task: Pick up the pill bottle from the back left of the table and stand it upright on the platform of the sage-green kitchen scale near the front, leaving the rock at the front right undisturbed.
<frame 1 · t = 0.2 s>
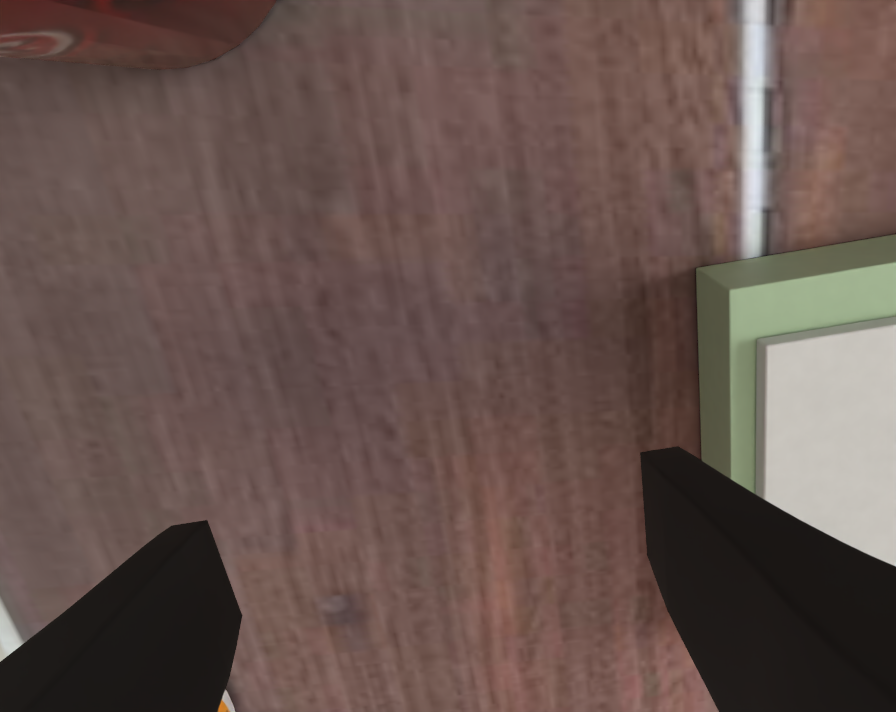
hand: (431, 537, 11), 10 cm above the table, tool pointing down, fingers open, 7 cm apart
scale: (881, 439, 22), on the table
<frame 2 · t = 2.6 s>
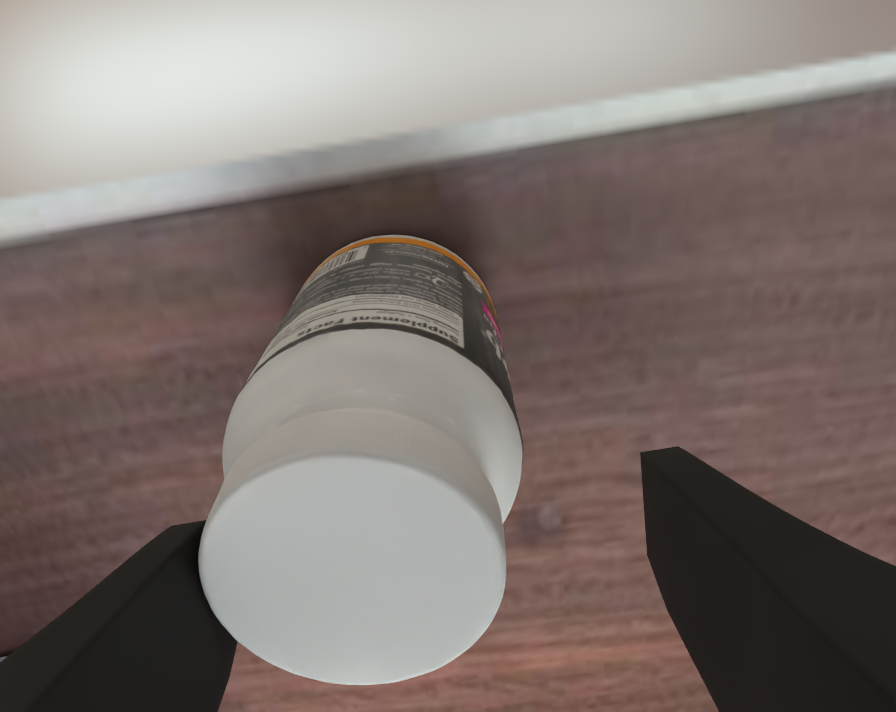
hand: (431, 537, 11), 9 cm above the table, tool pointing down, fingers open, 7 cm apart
pill bottle: (396, 322, 19), on the table
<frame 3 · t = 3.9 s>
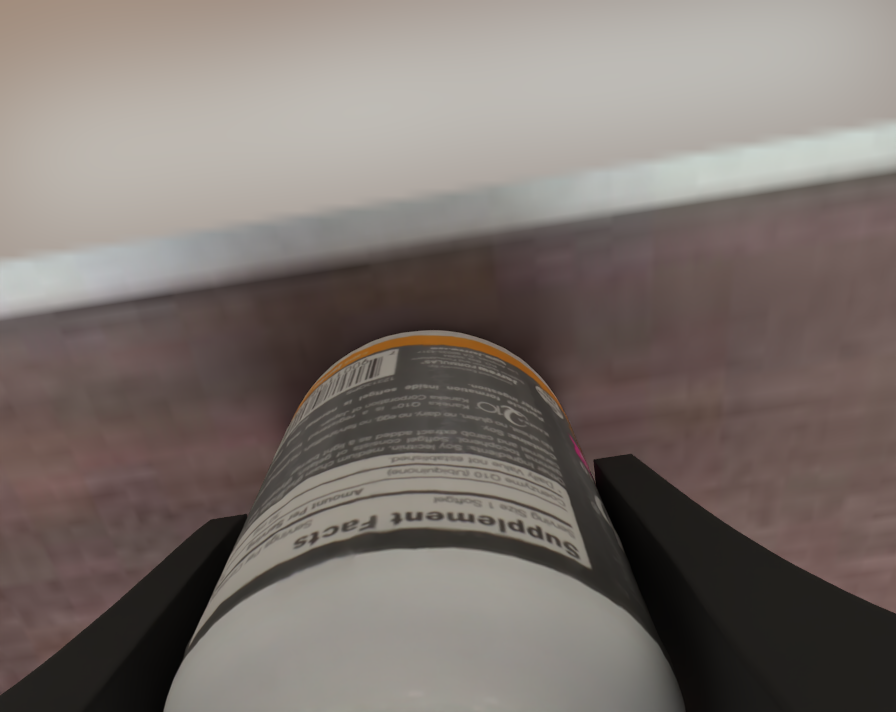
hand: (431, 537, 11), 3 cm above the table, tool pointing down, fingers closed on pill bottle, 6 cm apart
pill bottle: (429, 444, 14), on the table, touching gripper
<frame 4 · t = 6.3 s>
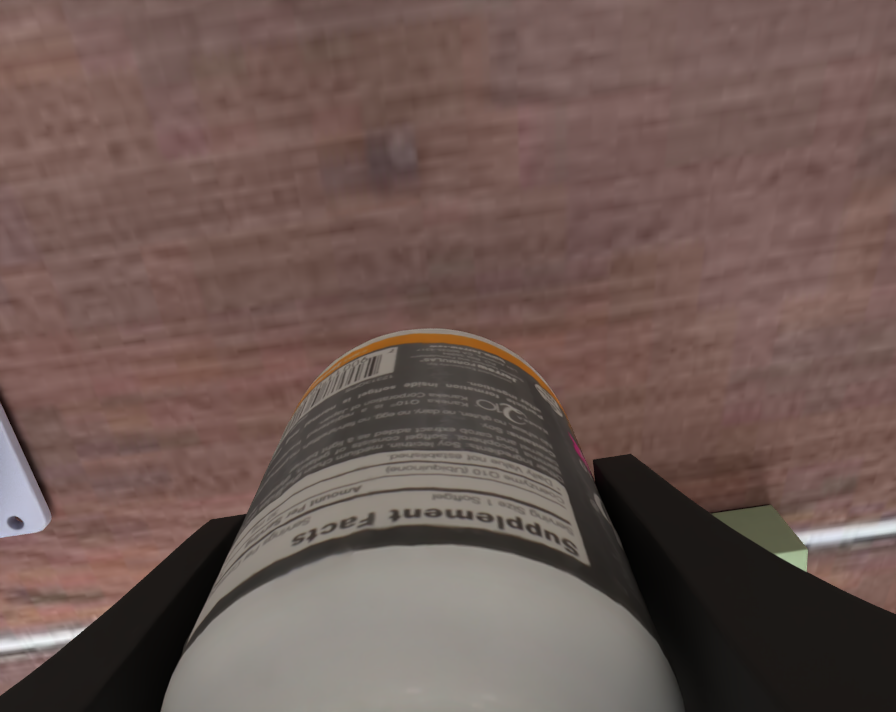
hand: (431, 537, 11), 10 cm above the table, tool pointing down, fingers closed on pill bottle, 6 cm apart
scale: (583, 661, 25), on the table
pill bottle: (428, 442, 14), point 7 cm above the table, touching gripper
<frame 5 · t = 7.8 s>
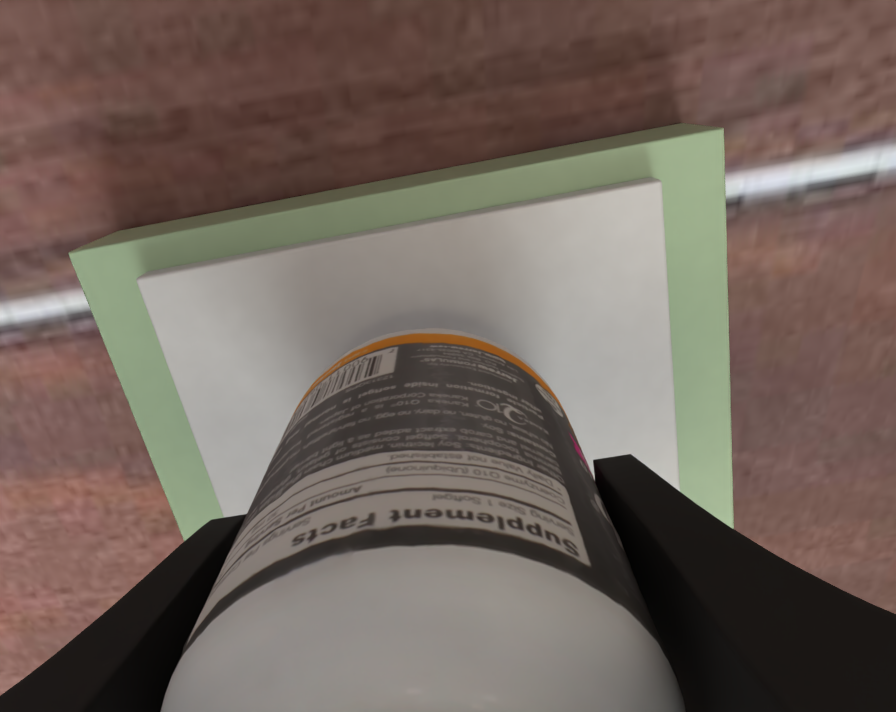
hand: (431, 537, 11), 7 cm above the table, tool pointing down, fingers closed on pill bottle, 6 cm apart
scale: (439, 398, 18), on the table
pill bottle: (429, 443, 14), point 4 cm above the table, touching gripper
when the fingers open (6 cm above the table, at t = 8.9 s): pill bottle stays where it is, resting on scale.
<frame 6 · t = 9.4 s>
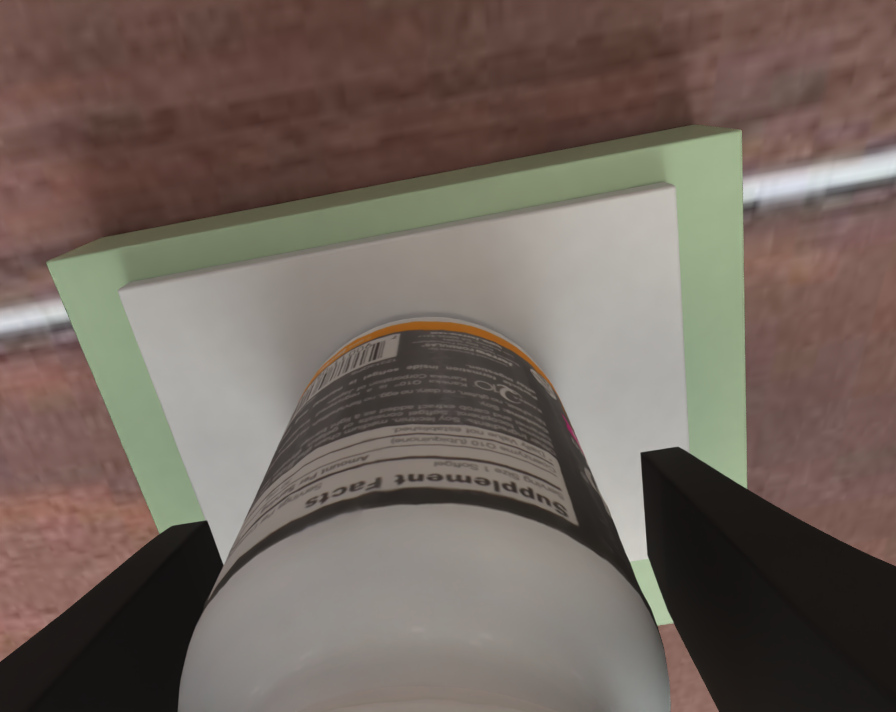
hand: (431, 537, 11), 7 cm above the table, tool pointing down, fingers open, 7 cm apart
scale: (439, 411, 17), on the table
pill bottle: (429, 427, 14), point 3 cm above the table, touching scale
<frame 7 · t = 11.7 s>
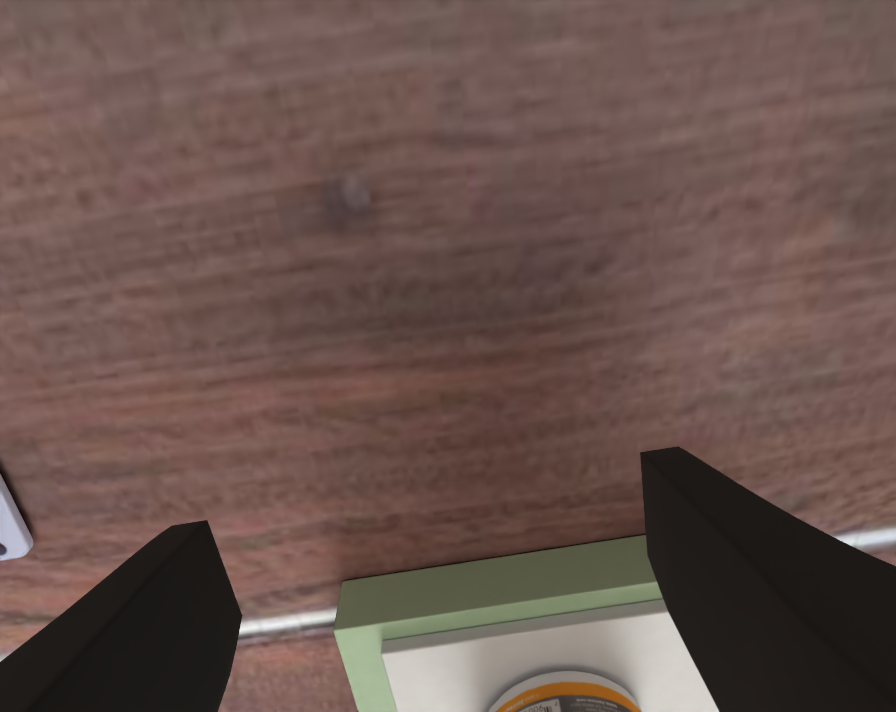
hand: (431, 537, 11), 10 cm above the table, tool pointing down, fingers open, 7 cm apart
scale: (550, 674, 26), on the table
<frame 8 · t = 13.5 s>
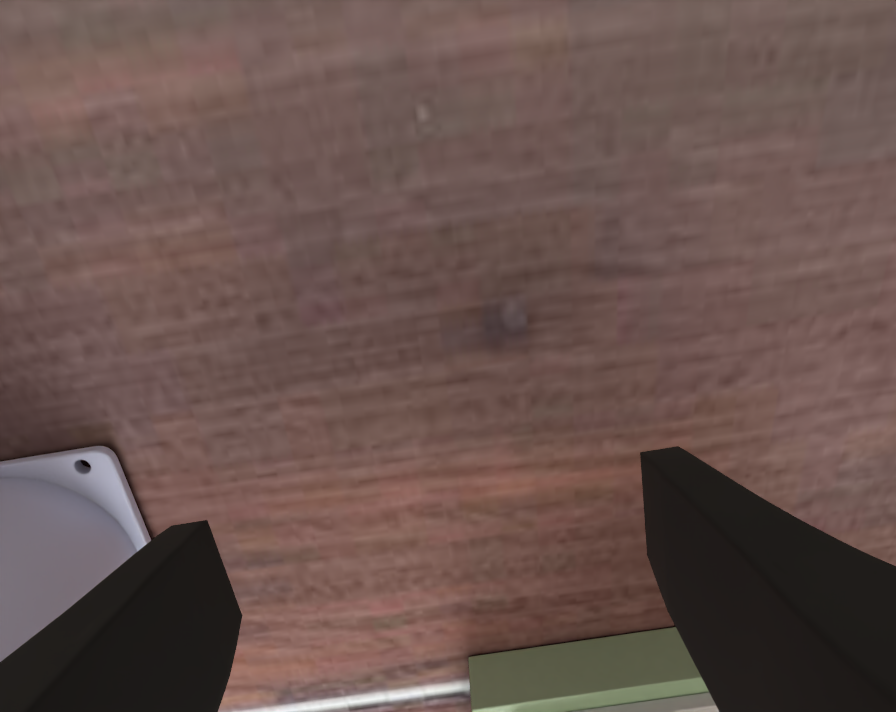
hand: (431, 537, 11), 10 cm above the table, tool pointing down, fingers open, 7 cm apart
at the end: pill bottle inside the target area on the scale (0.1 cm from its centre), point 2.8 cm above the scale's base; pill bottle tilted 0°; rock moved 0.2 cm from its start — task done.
